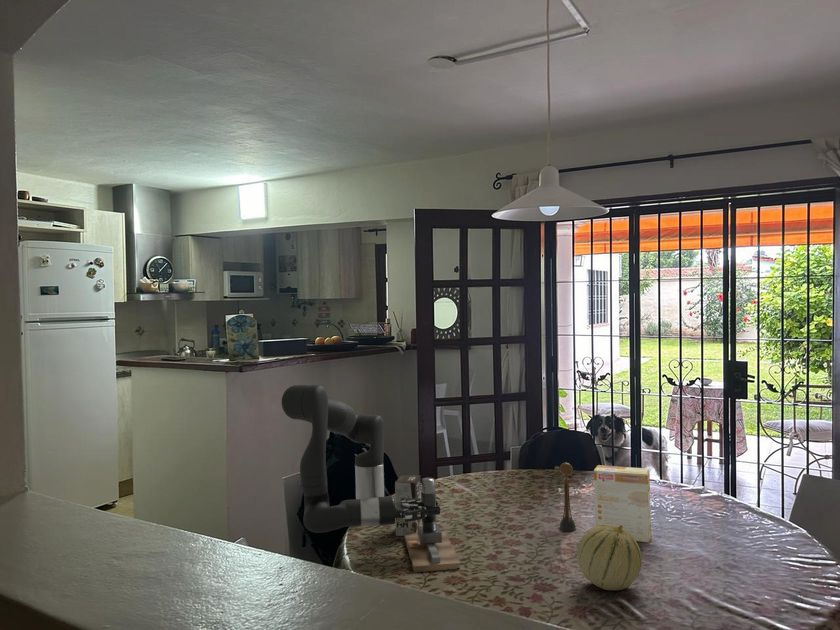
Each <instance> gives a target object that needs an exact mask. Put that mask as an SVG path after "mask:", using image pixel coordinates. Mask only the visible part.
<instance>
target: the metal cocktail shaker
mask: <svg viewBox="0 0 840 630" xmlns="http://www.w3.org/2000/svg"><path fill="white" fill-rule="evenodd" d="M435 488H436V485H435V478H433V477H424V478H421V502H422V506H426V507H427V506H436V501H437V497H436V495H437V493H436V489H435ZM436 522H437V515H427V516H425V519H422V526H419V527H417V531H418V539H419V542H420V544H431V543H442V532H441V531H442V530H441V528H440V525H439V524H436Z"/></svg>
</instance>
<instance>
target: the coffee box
mask: <svg viewBox="0 0 840 630" xmlns="http://www.w3.org/2000/svg"><path fill="white" fill-rule="evenodd" d="M421 492H422V481H421V475H420V474H419V475H417V474H407V475H404V474H403V475H400V476H399V477H398V478H397V480H395V482H394V501H395V503H396V502H401V498H415V499H421ZM419 513H421V512H419ZM419 526H423V522H422V519H420V520H415V521H409V522H405V519H402V518H395V536H398V537H399V536H400V537H405V534H406V533H418V531H417V527H419Z"/></svg>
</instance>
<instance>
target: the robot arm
mask: <svg viewBox="0 0 840 630" xmlns="http://www.w3.org/2000/svg"><path fill="white" fill-rule="evenodd" d="M281 407H282V411H283V412H284V414H285V415H286V416H287V417H288V418H290V419H292V420H300V421H303V422H304V421H305V422H309V423H311V427H312V429H311V436H310V439H309V442H308V443H307V446H306V448H305V450H304V452H303V454H302V456H301V459H300V463H299V464H300V465H299V474H300V483H301V484H300V485H301V491H302V494H303V501H304V513H303V521H302V522H303V526H304V527H305V528H306V529H307V530H308V531H309V532H312V533H316V534H319V533H320V534H321V533H327V532H331V531H336V530H339V529H342V528H345V527H346V528H347V527H362V526H364V527H376V526H392V525H396V518H402V519H405V522H409V521H415V520H420V519H425V516H427V515H436V516H437V515H440V514H441V507H440V505H439V503H438V500H436V506H427V507H426V506H422V502H421V499H415V498H401V502H396V503H395V496H393V495H389V496H388V495H387V496H385V477H384V476H385V472H384V455H385V422H384V419H383V417H382V416H381V415H376V414H356V412H355V410H354V409H353V407H352V406H350V405H349V404H347V403H345V402H344V401H340V400H338V399H333V398H329V397H328V392H327V391H326V389H325V388H324V387H323V386H322V385H319V384H318V385H317V384H297V385H296V384H295V385H291V386H289V387H288V388H286V389H285V391H284V392H283V395H282V397H281ZM328 432H331V433H334V434H338V435H341V436H345V437H346V438H347V439H349V440H350V441H352V442H353V443H357V444H369V448H368V450H367V451H364V452H361V453H359V454H357V455H355V458H354V468H355V469H354V470H355V471H354V472H355V476H354V477H355V499H345V500H342V501H341V502H340V503H339V504H338V505H331V506H330V497H329V492H328V475H327V463H326V462H327V461H326V460H327V459H326V455H327V454H326V451H327V439H328V438H327V436H328ZM419 512H421V513H419Z"/></svg>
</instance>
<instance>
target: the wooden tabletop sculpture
mask: <svg viewBox="0 0 840 630" xmlns="http://www.w3.org/2000/svg"><path fill="white" fill-rule="evenodd" d="M554 471H558V472H560V473H561V475H563V476H564V478H563V488H564V489H563V491H564V494H563V496H564V497H563V499H564V502H563V503H564V504H563V514H562V518H561V520H560V522H559V530H560V531H563V532H575V531H576V529H577V527H576V523H575V520H574V519H573V517H572V511H571V503H570V501H571V500H570V481H569V480H570V478H568V477H569V476H571V475H572V473H573V471H574V470H573V466H572V465H571V464H570V463H569V462H563V463H561V464H560V466H554Z"/></svg>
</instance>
